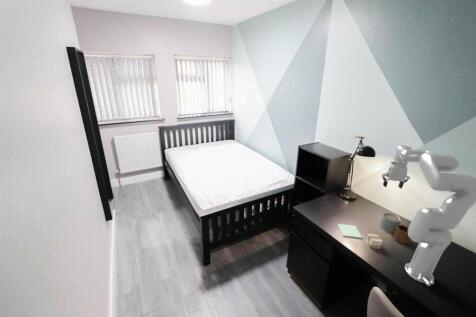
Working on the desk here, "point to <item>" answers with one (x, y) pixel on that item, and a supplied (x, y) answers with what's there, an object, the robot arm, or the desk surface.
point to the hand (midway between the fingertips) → (392, 186)
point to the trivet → (349, 231)
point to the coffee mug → (390, 222)
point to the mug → (402, 234)
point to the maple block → (374, 241)
